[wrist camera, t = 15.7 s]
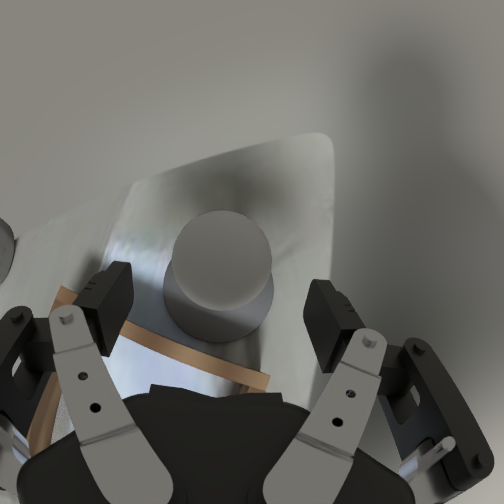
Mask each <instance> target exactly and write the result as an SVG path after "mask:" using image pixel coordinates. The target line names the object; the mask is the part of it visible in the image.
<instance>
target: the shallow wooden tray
mask: <svg viewBox="0 0 504 504" xmlns="http://www.w3.org/2000/svg"><path fill="white" fill-rule="evenodd" d="M77 296H78V294H76V293H74V292H73V291H71V290H69V289H67V288H65V287H63V286H62V285H61V286H60V289H59V291H58V293H57V296H56V298H55V301H54V303H53V306H52V309H51V311H50V314H51V313H52V312H53V310H55V309H56V308H58V307H60V306H63V305H71V304H72V303H73V302H74V300H75V299H76V298H77ZM50 314H49V316H50ZM48 318H49V317H48ZM119 334H120V335H122V336H124V337H126V338H128V339H130V340H132V341H134V342H136V343H138V344H140V345H143V346H145V347H147V348H149V349H151V350H154V351H156V352H158V353H160V354H163V355H165V356H167V357H170V358H172V359H175V360H177V361H179V362H182V363H184V364H187V365H190V366H192V367H195V368H197V369H200V370H203V371H206V372H208V373H211V374H214V375H217V376H220V377H223V378H225V379H228V380H232V381H235V382H238V383H241V387H240V390H239V393H238V395H239V394H245V393H265V391H266V388H267V385H268V382H269V379H270V375H267V374H265V373H262V372H260V371H256V370H253V369H250V368H247V367H244V366H241V365H237V364H235V363H232V362H229V361H226V360H223V359H220V358H217V357H214V356H212V355H209V354H206V353H204V352H201V351H198V350H196V349H193V348H190V347H188V346H185V345H183V344H180V343H178V342H176V341H173V340H171V339H168V338H166V337H164V336H161V335H159V334H157V333H154V332H152V331H150V330H148V329H146V328H143V327H141V326H139V325H137V324H135V323H133V322H131V321H128V320H125V323H124V325H123V327H122V329H121V331H120V333H119ZM61 392H62V390H61V386H60V383H59V379H58V375H57V372H52V374H51V376H50V378H49V380H48V383H47V385H46V387H45V390H44V392H43V394H42V397H41V399H40V402H39V404H38V407H37V409H36V412H35V415H34V417H33V420H32V423H31V426H30V429H29V432H28V435H27V438H26V440H27V442H28V445H29V451H30V452H29V455H30V457H32V456H34V455H36V454H37V453H39V452H41V451H42V450H44V449H46V448H47V447H49V446H50V443H51V437H52V432H53V427H54V422H55V417H56V413H57V408H58V404H59V400H60V396H61Z"/></svg>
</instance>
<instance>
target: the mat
mask: <svg viewBox="0 0 504 504" xmlns="http://www.w3.org/2000/svg"><path fill="white" fill-rule="evenodd" d="M163 292H164V299H165V303H166V306H167V309H168V311H169V313H170V315H171V316H172V318H173V319H174V321H175V322H176V323H177V324H178V325H179V326H180V327H181V328H182V329H183V330H184V331H186V332H187V333H189V334H190V335H192V336H194V337H196V338H198V339H201V340H204V341H209V342H218V343H222V342H230V341H234V340H237V339H240V338H242V337H244V336H246V335H248V334H250V333H251V332H252V331H254V330H255V329H256V328H257V327H258V326H259V325H260V324H261V323H262V322H263V320H264V319H265V317H266V316H267V314H268V312H269V310H270V307H271V304H272V300H273V293H274V284H273V278H272V275H271V272H270V276H269V279H268V281H267V283H266V285H265V287H264V288H263V290H262V291H261V292H260V293H259V294H258V296H257V297H256V298H254V299H253V300H252V301H251V302H249V303H248V304H246V305H244V306H242V307H240V308H236V309H232V310H224V311H219V310H211V309H208V308H205V307H202V306H200V305H198V304H196V303H195V302H193V301H192V300H191V299H189V298H188V297H187V296H186V295H185V294H184V292H183V291H182V290H181V288H180V287H179V285H178V283H177V281H176V279H175V277H174V273H173V269H172V260H171V262H170V263H169V265H168V268H167V270H166V273H165V277H164V284H163Z"/></svg>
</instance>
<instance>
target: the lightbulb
mask: <svg viewBox="0 0 504 504" xmlns="http://www.w3.org/2000/svg"><path fill="white" fill-rule="evenodd" d="M271 265H272V256H271V249H270V246H269V243H268V240H267V238H266V236H265V235H264V233H263V231H262V230H261V229H260V228H259V226H258V225H257V224H256V223H255V222H253V221H252V220H251V219H249V218H248V217H246V216H244V215H242V214H239V213H236V212H233V211H226V210H217V211H211V212H207V213H204V214H202V215H199V216H197V217H196V218H194V219H193V220H191V221H190V222H189V223H188V224H187V225H186V226H185V227H184V228H183V230H182V231H181V233H180V234H179V236H178V237H177V240H176V242H175V244H174V248H173V253H172V269H173V273H174V277H175V279H176V281H177V283H178V285H179V287H180V288H181V290H182V291H183V292H184V294H185V295H186V296H187V297H188V298H189V299H191V300H192V301H193V302H195V303H196V304H198V305H200V306H202V307H205V308H208V309H211V310H219V311H224V310H232V309H236V308H240V307H242V306H244V305H246V304H248V303H249V302H251V301H252V300H253V299H254V298H256V297H257V296H258V294H259V293H260V292H261V291H262V290H263V288H264V287H265V285H266V283H267V281H268V279H269V276H270V272H271Z"/></svg>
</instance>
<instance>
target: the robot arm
mask: <svg viewBox="0 0 504 504" xmlns="http://www.w3.org/2000/svg"><path fill="white" fill-rule="evenodd" d="M13 255H14V235H13V232H12V229H11V228H10V226H9V225H8V224H7V223H6V222H4V221H3V220H2V219H1V218H0V284H1V283H2V282H3V280H4V279H5V277H6V275H7V273H8V271H9V269H10V266H11V263H12V259H13ZM133 300H134V291H133V281H132V269H131V264H130V263H129V262H120V261H113V262H112V263H111V265H110V266H109V267H108V269H107V270H106V271H103V270H102V271H101V272H99V273H97V274H96V275H94V276H93V277H92V279H91V280H90V281H89V284H87V285H86V286H85V288H84V289H83V290H82V291H81V293H80V294H79V295H78V296H77V298H76V299H75V300H74V302H73V303H72V304H71V305H63V306H60V307H58V308H56V309H55V310H53V312H52V313H51V314H50V316H49V318H34V317H33V314H32V311H31V309H30V308H28V307H26V306H17V307H14V308H12V309H10V310H9V311H8V312H7V313H6V314H5V315H4V316H3V317H2V319H1V320H0V490H3V491H6V490H7V491H9V492H10V493H12V494H14V495H16V496H17V497H18V499H19V503H20V504H444V503H446V502H448V501H449V500H451V499H453V498H455V497H456V496H458V495H460V494H461V493H463V492H465V491H466V490H468V489H469V488H471V487H473V486H474V485H475V484H477V483H479V482H480V481H482V480H483V479H484V478H486V477H487V476H489V474H490V473H491V472H492V470H493V467H494V456H493V453H492V451H491V449H490V447H489V445H488V443H487V441H486V439H485V437H484V435H483V433H482V431H481V429H480V427H479V425H478V423H477V421H476V420H475V418H474V416H473V414H472V412H471V411H470V409H469V407H468V405H467V403H466V402H465V400H464V398H463V397H462V395H461V393H460V391H459V390H458V388H457V387H456V385H455V383H454V382H453V380H452V378H451V377H450V375H449V374H448V372H447V370H446V369H445V367H444V366H443V364H442V363H441V362H440V360H439V358H438V357H437V355H436V354H435V352H434V351H433V349H432V348H431V346H430V345H429V344H428V343H426V342H425V341H423V340H421V339H419V338H408V339H407V340H406V341H405V343H404V345H403V346H402V347H399V346H393V345H388V344H387V342H386V340H385V338H384V337H383V336H382V335H381V334H379V333H378V332H376V331H374V330H371V329H366V327H365V326H364V324H363V322H362V320H361V319H360V317H359V316H358V314H357V312H355V309H354V308H353V306H351V303H350V301H349V300H348V298H347V297H346V296H344V295H343V294H342V293H341V292H339V291H336V290H335V288H334V286H333V285H332V283H331V282H330V280H319V279H313V280H312V282H311V284H310V288H309V292H308V295H307V299H306V302H305V306H304V311H303V319H304V323H305V326H306V328H307V331H308V334H309V337H310V339H311V342H312V345H313V348H314V351H315V353H316V356H317V359H318V362H319V365H320V367H321V370H322V373H333V375H332V377H331V379H330V381H329V382H328V384H327V386H326V388H325V390H324V391H323V393H322V395H321V397H320V398H319V400H318V402H317V403H316V405H315V407H314V408H313V410H312V412H309V411H308V410H306V409H304V408H302V407H300V406H297V405H294V404H291V403H287V402H283V399H282V394H281V393H245V394H239V395H233V396H227V397H220V398H215V397H210V396H207V395H203V394H200V393H197V392H193V391H190V390H187V389H184V388H177V387H169V386H162V385H155V384H151V387H150V391H149V393H143V394H137V395H133V396H129V397H127V398H124V399H121V397H120V395H119V393H118V391H117V389H116V387H115V385H114V383H113V381H112V379H111V377H110V375H109V373H108V371H107V368H106V366H105V364H104V362H103V359H102V357H101V356H105V357H109V356H110V354H111V352H112V349H113V347H114V345H115V342H116V340H117V338H118V336H119V333H120V331H121V329H122V327H123V325H124V323H125V320H126V318H127V316H128V314H129V312H130V310H131V308H132V305H133ZM18 356H19V357H20V359H21V363H20V365H19V367H18V369H17V370H16V372H15V374H14V376H13V377H12V368H13V365H14V363H15V362H16V360H17V358H18ZM52 372H57V375H58V379H59V383H60V386H61V390H62V393H63V397H64V400H65V403H66V406H67V409H68V412H69V415H70V418H71V421H72V424H73V426H74V429H75V430H74V431H73V432H71V433H70V434H68V435H66V436H65V437H63V438H62V439H60V440H58V441H57V442H55V443H54V444H52V445H50V446H49V447H47V448H46V449H44V450H42V451H41V452H39V453H37V454H36V455H34V456H32V457H30V455H29V452H30V451H29V445H28V442H27V440H26V438H27V435H28V432H29V429H30V426H31V423H32V420H33V417H34V415H35V412H36V409H37V407H38V404H39V402H40V399H41V397H42V394H43V392H44V390H45V387H46V385H47V383H48V380H49V378H50V376H51V374H52ZM413 385H415V387H416V389H417V391H418V393H419V395H420V404H419V406H417V404H416V402H415V400H414V398H413V396H412V393H411V392H410V389H411V388H412V387H413ZM376 395H378V398H379V401H380V403H381V405H382V408H383V411H384V413H385V416H386V418H387V421H388V424H389V427H390V429H391V432H392V435H393V437H394V440H395V443H396V446H397V449H398V451H399V454H400V457H401V460H402V462H401V464H400V467H399V475H398V474H396V473H395V472H393V471H392V470H390V469H389V468H387V467H385V466H384V465H382V464H381V463H379V462H378V461H376V460H375V459H374V458H372V457H371V456H369V455H368V454H366V453H365V452H363V451H362V450H361V449H359V448H358V447H357V446H358V443H359V441H360V439H361V436H362V434H363V431H364V429H365V426H366V423H367V421H368V418H369V415H370V412H371V409H372V407H373V404H374V400H375V397H376Z"/></svg>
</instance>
